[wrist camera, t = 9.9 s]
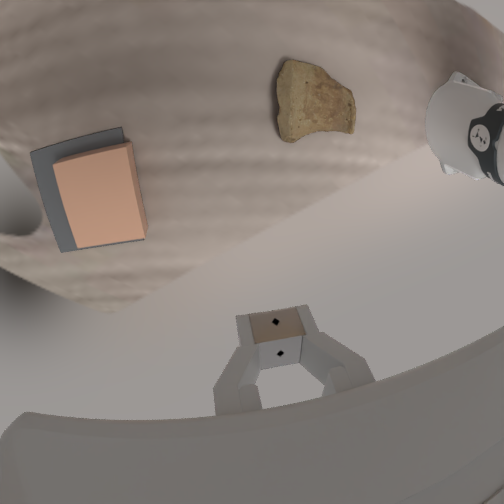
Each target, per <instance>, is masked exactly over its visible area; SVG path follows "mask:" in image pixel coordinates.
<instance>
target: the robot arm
mask: <svg viewBox="0 0 504 504" xmlns="http://www.w3.org/2000/svg"><path fill="white" fill-rule="evenodd" d="M502 101H503V97H502V96H501V95H499V94H497V93H495V92H494V91H492V90H487V89H484V88H482V87H480V86H479V85H478V84H476V83H475V82H473V81H472V80H471V79H469V78H468V77H466V76H465V75H463V74H462V73H460V72H457V71H455V72H453V74H452V75H451V77H450V78H449V80H448V82H447V83H445V84H444V85H442V86H441V87H439V88H438V89H437V90H436V91H435V92H434V94H433V95H432V97H431V99H430V101H429V104H428V107H427V111H426V118H425V130H426V136H427V140H428V144H429V146H430V148H431V150H432V152H433V153H434V154H435V156H436V157H437V158H438V159H439V161H440V165H441V168H442V171H443V172H444V173H445V174H448V175H451V174H454V173H458V172H461V173H463V174H465V175H467V176H469V177H471V178H473V179H475V180H479V179H482V178H485V177H488V178H490V179H492V181H494V182H496V183H497V184H501V185H503V186H504V104H503V103H502ZM236 323H237V330H238V338H239V345H240V346H239V347H237V348H236V350H235V352H234V353H233V355H232V357H231V359H230V360H229V362H228V364H227V365H226V367H225V369H224V371H223V372H222V374H221V376H220V378H219V379H218V381H217V383H216V384H215V386H214V388H213V392H214V402H215V412H216V416H209V417H198V418H185V419H167V420H105V419H87V418H74V417H64V416H55V415H47V414H40V413H34V412H24V413H23V414H21V415H20V416H19V417H18V418H16V420H14V421H13V422H12V423H11V424H10V426H9V427H8V428H7V429H6V430H5V431H4V432H3V434H2V436H1V438H0V504H504V326H503V327H501V328H499V329H498V330H496V331H494V332H492V333H490V334H488V335H486V336H484V337H482V338H481V339H479V340H477V341H475V342H473V343H471V344H468V345H467V346H464V347H462V348H460V349H458V350H456V351H454V352H451V353H449V354H447V355H445V356H442V357H440V358H438V359H435V360H433V361H431V362H428V363H426V364H423V365H421V366H418V367H416V368H413V369H411V370H408V371H405V372H402V373H400V374H397V375H394V376H391V377H388V378H386V379H382V380H380V381H375V379H374V377H373V374H372V373H371V370H370V368H369V366H368V364H367V362H366V360H365V359H364V358H363V357H361V356H359V355H358V354H356V353H355V352H353V351H352V350H350V349H349V348H347V347H346V346H344V345H342V344H341V343H339V342H338V341H336V340H335V339H333V338H332V337H330V336H328V335H327V334H325V333H324V332H319V330H318V328H317V325H316V323H315V321H314V318H313V316H312V314H311V312H310V309H309V307H308V305H301V306H295V307H289V308H284V309H278V310H272V311H267V312H259V313H251V314H245V315H237V316H236ZM296 363H300V364H301V365H302V366H303V367H304V368H305V369H306V370H307V371H309V372H310V373H311V374H312V375H313V376H314V377H316V378H317V379H318V380H319V381H320V382H321V383H322V384H324V385H325V387H324V390H323V394H322V397H320V398H316V399H311V400H307V401H303V402H298V403H293V404H288V405H283V406H278V407H273V408H267V409H262V405H261V400H260V396H259V392H258V387H257V386H256V385H255V383H256V380H257V378H258V376H259V373H260V370H263V369H268V368H273V367H278V366H284V365H290V364H296Z"/></svg>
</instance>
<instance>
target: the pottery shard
mask: <svg viewBox="0 0 504 504" xmlns="http://www.w3.org/2000/svg"><path fill="white" fill-rule="evenodd" d="M276 91H277V100H278V104H279V106H280V108H279V114H278V116H277V122H278V126H279V132H280V136H281V138H282V140H283V141H285V142H289V143H294V142H295V141H297V140H298V139H300V138H301V137H302V136H304V135H307V134H310V133H314V132H316V131H327V132H328V131H340V132H344V133H349V134H353V133H354V127H355V119H356V107H355V100H354V98H353V95H352V92H351V90H349V89H347V88H345V87H344V86H342V85H341V84H339V83H338V82H336V81H335V80H334V79H332V78H331V77H330V76H329V75H328V74H327V73H326V72H325V70H324V69H322V68H321V67H318V66H315V65H311V64H308V63H302V62H300V61H296V60H288V61H286V62H284V64H283V67H282V70H281V71H280V72H279V76H278V78H277V90H276Z"/></svg>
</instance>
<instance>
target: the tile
mask: <svg viewBox="0 0 504 504" xmlns="http://www.w3.org/2000/svg"><path fill="white" fill-rule="evenodd" d="M53 169H54V173H55V177H56V181H57V184H58V188H59V192H60V195H61V199H62V202H63V205H64V209H65V212H66V215H67V218H68V221H69V224H70V227H71V230H72V233H73V236H74V239H75V242H76V245H77V247H78V248H84V247H90V246H96V245H103V244H109V243H116V242H122V241H129V240H136V239H142V238H145V237H146V233H147V229H148V224H147V220H146V215H145V211H144V206H143V202H142V197H141V192H140V187H139V182H138V176H137V171H136V165H135V160H134V154H133V148H132V142H127V143H122V144H117V145H112V146H108V147H103V148H99V149H95V150H90V151H86V152H82V153H78V154H75V155H71V156H67V157H63V158H61V159H60V160H58V161H57V162H56V163H54V164H53Z"/></svg>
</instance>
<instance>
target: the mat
mask: <svg viewBox="0 0 504 504" xmlns="http://www.w3.org/2000/svg"><path fill="white" fill-rule="evenodd" d="M122 143H124V138H123V131H122V127H121V128H116V129H112V130H107V131H103V132H99V133H95V134H91V135H87V136H83V137H79V138H75V139H72V140H68V141H65V142H61V143H58V144H55V145H52V146H48V147H45V148H42V149H39V150H36V151H33V152H31V153H30V155H31V160H32V164H33V168H34V172H35V176H36V179H37V183H38V187H39V190H40V194H41V197H42V200H43V203H44V207H45V210H46V213H47V216H48V219H49V222H50V225H51V228H52V230H53V233H54V236H55V239H56V241H57V244H58V246H59V249H60V252H61V253H63V252H69V251H75V250H82V249H88V248H94V247H101V246H107V245H114V244H120V243H127V242H134V241H141V240H144V238H142V239H136V240H129V241H122V242H116V243H109V244H103V245H96V246H90V247H84V248H78V247H77V245H76V242H75V239H74V236H73V233H72V230H71V227H70V224H69V221H68V218H67V215H66V212H65V209H64V205H63V202H62V199H61V195H60V192H59V188H58V184H57V181H56V177H55V173H54V169H53V164H54V163H56V162H57V161H58V160H60V159H61V158H63V157H67V156H71V155H75V154H78V153H82V152H86V151H90V150H95V149H99V148H103V147H108V146H112V145H117V144H122Z"/></svg>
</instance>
